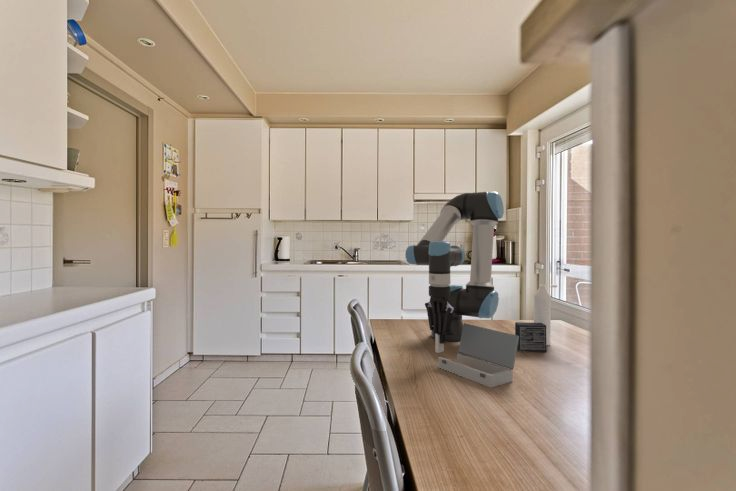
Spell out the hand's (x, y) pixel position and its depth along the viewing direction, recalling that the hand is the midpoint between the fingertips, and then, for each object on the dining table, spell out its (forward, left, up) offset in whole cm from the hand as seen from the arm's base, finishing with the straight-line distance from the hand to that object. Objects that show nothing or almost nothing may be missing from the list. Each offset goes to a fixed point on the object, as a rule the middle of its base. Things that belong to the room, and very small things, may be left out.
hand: (439, 351), depth 141 cm
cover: (+15, +6, +5) cm, 17 cm away
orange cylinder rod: (+10, 0, -3) cm, 11 cm away
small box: (+7, +42, -4) cm, 43 cm away
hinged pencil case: (+15, 0, -4) cm, 16 cm away
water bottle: (+5, +55, -4) cm, 56 cm away
